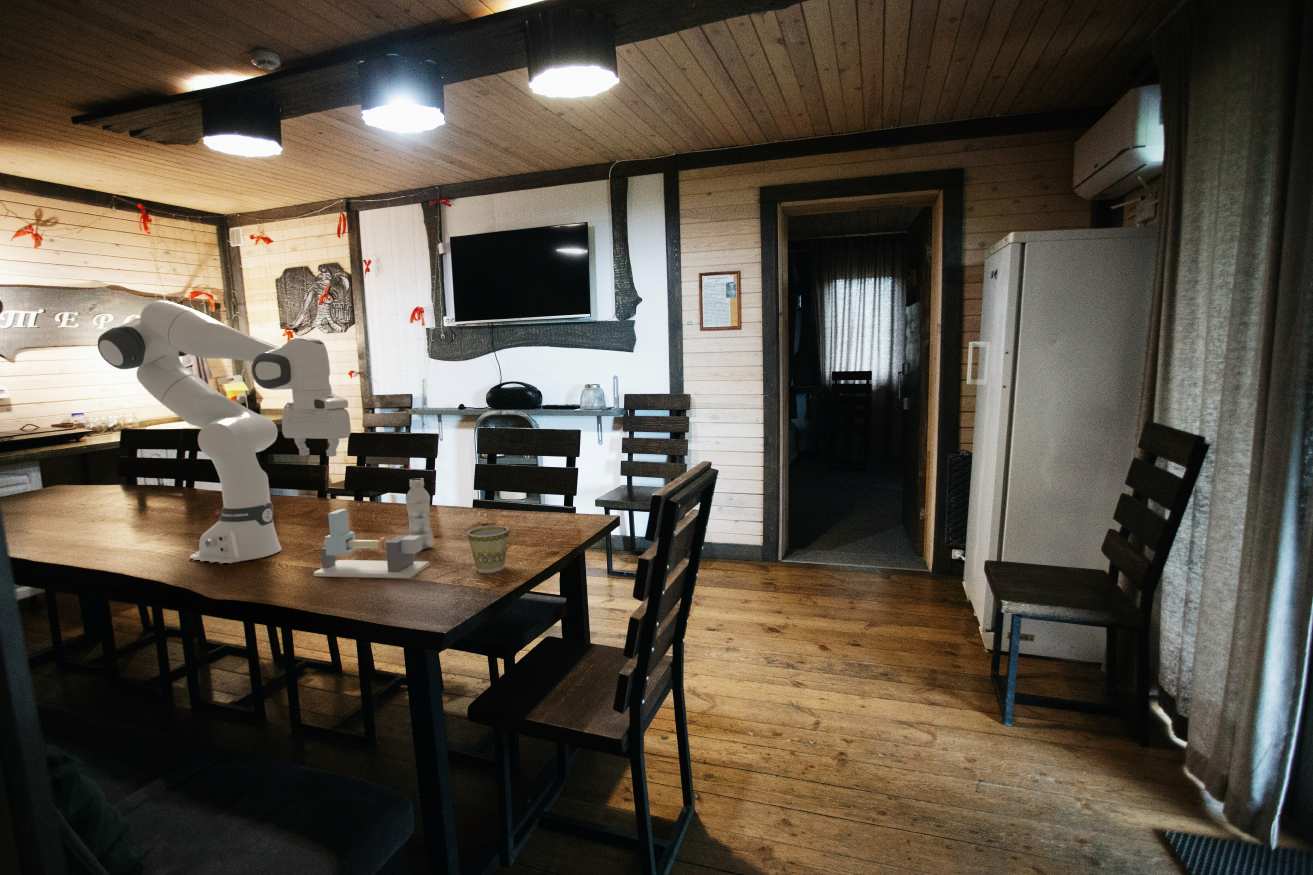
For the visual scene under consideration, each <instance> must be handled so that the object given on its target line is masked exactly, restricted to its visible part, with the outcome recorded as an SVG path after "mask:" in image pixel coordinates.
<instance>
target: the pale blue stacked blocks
mask: <svg viewBox="0 0 1313 875" xmlns="http://www.w3.org/2000/svg"><path fill="white" fill-rule="evenodd" d="M327 515H328V516H327V517H328V527H329V528H328V529H329V534H328V535H326V536H325V535H324V541H325V545H326V555H335V557H336V556H338V557H339V556H343V557H345V556H347V555H349V554H352V553H353V552H355V551H357V548H347V547H346V540H356V534H355V533H356V532H354V531H350V527H349V526H350V524H349V514H348V509H347V508H340V509H337V510H334V511H332V512H329V513H328V514H327Z"/></svg>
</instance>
